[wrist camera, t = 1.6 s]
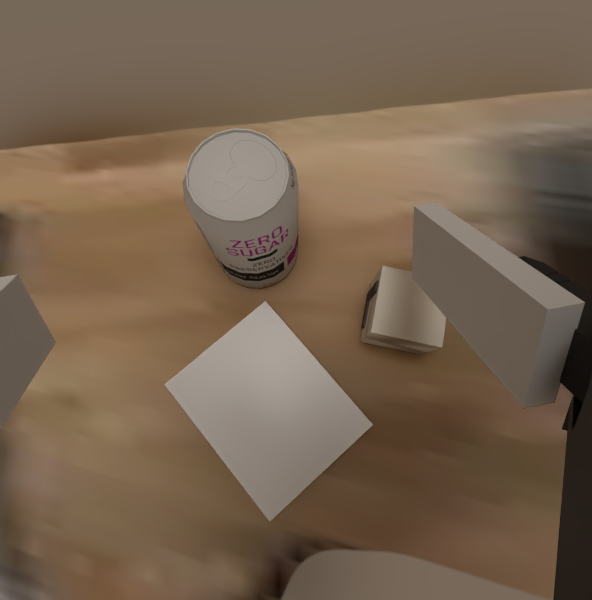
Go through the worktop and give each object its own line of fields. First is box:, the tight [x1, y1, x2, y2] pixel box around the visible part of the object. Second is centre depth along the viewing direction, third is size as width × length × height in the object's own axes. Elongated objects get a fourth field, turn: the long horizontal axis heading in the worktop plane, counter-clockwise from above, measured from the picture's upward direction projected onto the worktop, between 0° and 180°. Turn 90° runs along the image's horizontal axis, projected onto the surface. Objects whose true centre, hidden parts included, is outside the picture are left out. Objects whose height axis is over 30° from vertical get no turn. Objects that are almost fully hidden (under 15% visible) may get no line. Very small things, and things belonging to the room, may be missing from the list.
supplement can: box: [183, 129, 298, 288], centre depth 34 cm, size 8×8×15 cm
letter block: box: [360, 266, 446, 355], centre depth 37 cm, size 6×6×6 cm
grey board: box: [164, 301, 373, 522], centre depth 37 cm, size 15×12×2 cm
